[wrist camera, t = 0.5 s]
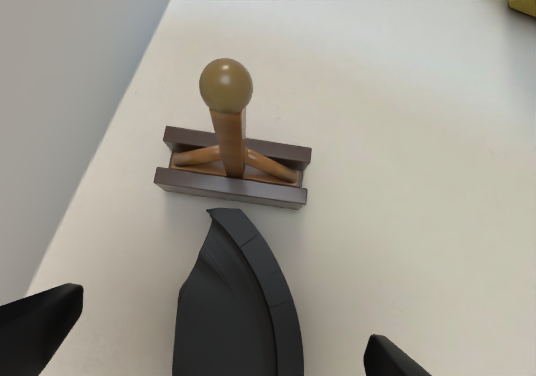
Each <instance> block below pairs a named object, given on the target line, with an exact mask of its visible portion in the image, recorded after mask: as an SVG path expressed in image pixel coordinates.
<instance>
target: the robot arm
mask: <svg viewBox="0 0 536 376" xmlns="http://www.w3.org/2000/svg"><path fill="white" fill-rule="evenodd" d="M83 292H84V290H83V286H81V285H78V284H72V283H67V284H64V285H61V286H58V287H55V288H52V289H49V290H46V291H43V292H40V293H37V294H34V295H32V296H29V297H26V298H23V299H20V300H17V301H14V302H11V303H8V304H6V305H2V306H0V376H39V374H40V373H41V372H42V370H43V369H44V368H45V367H46V365H47V364H48V362H49V361H50V360H51V358H52V357H53V355H54V354H55V352H56V351H57V349H58V348H59V347H60V345H61V344H62V342H63V341H64V339H65V338H66V336H67V335H68V333H69V332H70V330H71V329H72V328H73V326H74V325H75V323H76V322H77V320H78V319H79V317H80V315H81V313H82V309H83ZM363 361H364V367H365V372H366V376H432V375H430V374H429V373H428V372H427V371H426V370H425V369H423V368H422V367H421V366H420V365H419V364H417V363H416V362H415V361H414V360H413V359H411V358H410V357H409V356H408V355H407V354H406V353H404V352H403V351H402V350H401V349H400V348H398V347H397V346H396V345H395V344H394V343H392V342H391V341H390V340H389V339H388V338H387V337H385V336H382V335H376V334H373V335H371V336H370V338H369V341H368V344H367V347H366V350H365V353H364V360H363Z"/></svg>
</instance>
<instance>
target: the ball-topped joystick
mask: <svg viewBox="0 0 536 376" xmlns="http://www.w3.org/2000/svg"><path fill="white" fill-rule="evenodd" d="M199 89H200V94H201V96H202V99H203V101H204V102H205V103H206V105H207V106H208V107H209V111H210V114H211V118H212V122H213V126H214V130H215V134H216V137H217V141H218V145H216V146H211V147H207V148H202V149H197V150H192V151H187V152H183V153H176V152H175V153H174V154H173V157H172V164H171V169H176V170H182V171H189V172H196V173H203V174H210V175H217V176H224V177H230V178H237V179H244V180H251V181H258V182H265V183H272V184H278V185H285V186H292V187H297V186H298V177H299V171H296V170H291V169H289V168H287V167H285V166H283V165H281V164H279V163H277V162H275V161H273V160H271V159H269V158H267V157H265V156H263V155H261V154H259V153H257V152H255V151H253V150H251V149H249V148H247V147H246V106H247V105H248V103H249V101H250V100H251V97H252V93H253V83H252V79H251V76H250V74H249V72H248V71H247V69H246V68H245V67H244V66H243V65H242V64H241V63H239V62H237V61H235V60H233V59H229V58H221V59H217V60H214V61H212V62H211V63H209V64H208V65H207V66H206V67H205V69H204V70H203V72H202V74H201V77H200V81H199Z"/></svg>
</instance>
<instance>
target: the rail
mask: <svg viewBox="0 0 536 376" xmlns="http://www.w3.org/2000/svg"><path fill="white" fill-rule="evenodd" d="M163 141H164V142H165V144H166V145H167V146H168V147H169V149H170V150H171V151H172V154H171V159H170V164H169V168H162V167H157V169H156V174H155V178H154V183H155V184H156V185H158V186H159V187H161V188H162V189H164V190H165V191H169V192H176V193H183V194H190V195H197V196H204V197H211V198H218V199H225V200H232V201H239V202H247V203H254V204H261V205H268V206H275V207H282V208H289V209H296V210H298V209H299V208H301V207H302V206H304V205H305V204H306V199H307V189H306V188H301V187H302V178H303V171H304V170H305V168H306V167H307V166H308V165H309V163H310V160H311V151H312V149H311V148H308V147H301V146H295V145H288V144H282V143H275V142H269V141H262V140H256V139H249V138H246V147H247V148H249V149H251V150H253V151H255V152H257V153H259V154H261V155H263V156H265V157H267V158H269V159H271V160H273V161H275V162H277V163H279V164H281V165H283V166H285V167H287V168H289V169H291V170H296V171H299V177H298V186H297V187H292V186H285V185H278V184H272V183H265V182H258V181H251V180H244V179H237V178H230V177H224V176H217V175H210V174H203V173H196V172H189V171H182V170H176V169H171V164H172V157H173V154H174V153H175V152H176V153H183V152H187V151H192V150H197V149H202V148H207V147H211V146H216V145H218V141H217V137H216V134H215V133H210V132H204V131H197V130H191V129H184V128H178V127H171V126H166V129H165V133H164V138H163Z"/></svg>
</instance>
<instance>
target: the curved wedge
mask: <svg viewBox="0 0 536 376" xmlns="http://www.w3.org/2000/svg"><path fill="white" fill-rule="evenodd" d="M206 211H207V212H208V213H209V214H210V217H211V218H212V223H211V227H210V229H209V232H208V235H207V237H206V239H205V242H204V244H203V246H202V248H201V250H200V252H199V255H198V259H197V261H196V264H195V266H194V268H193V270H192V272H191V273H190V275H189V277H188V279H187V280H186V281H185V283H184V284H183V285H182V287H181V289H180V292H179V297H178V308H177V316H176V326H175V341H174V351H173V362H172V376H304V358H303V346H302V338H301V331H300V326H299V321H298V316H297V312H296V308H295V305H294V302H293V298H292V296H291V293H290V290H289V287H288V285H287V282H286V280H285V278H284V275H283V273H282V271H281V269H280V267H279V265H278V263H277V261H276V259H275V257H274V255H273V253H272V251H271V250H270V248H269V246H268V244H267V243H266V241H265V240H264V238H263V237H262V235H261V234H260V233H259V231H258V230H257V229H256V227H255V226H254V225H253V224H252V222H251V221H250V220H249V219H248V217H247V216H246V215H245V214H244V213H243V212H242V211H241V210H240V209H230V208H229V209H228V208H214V209H207V210H206Z"/></svg>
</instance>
